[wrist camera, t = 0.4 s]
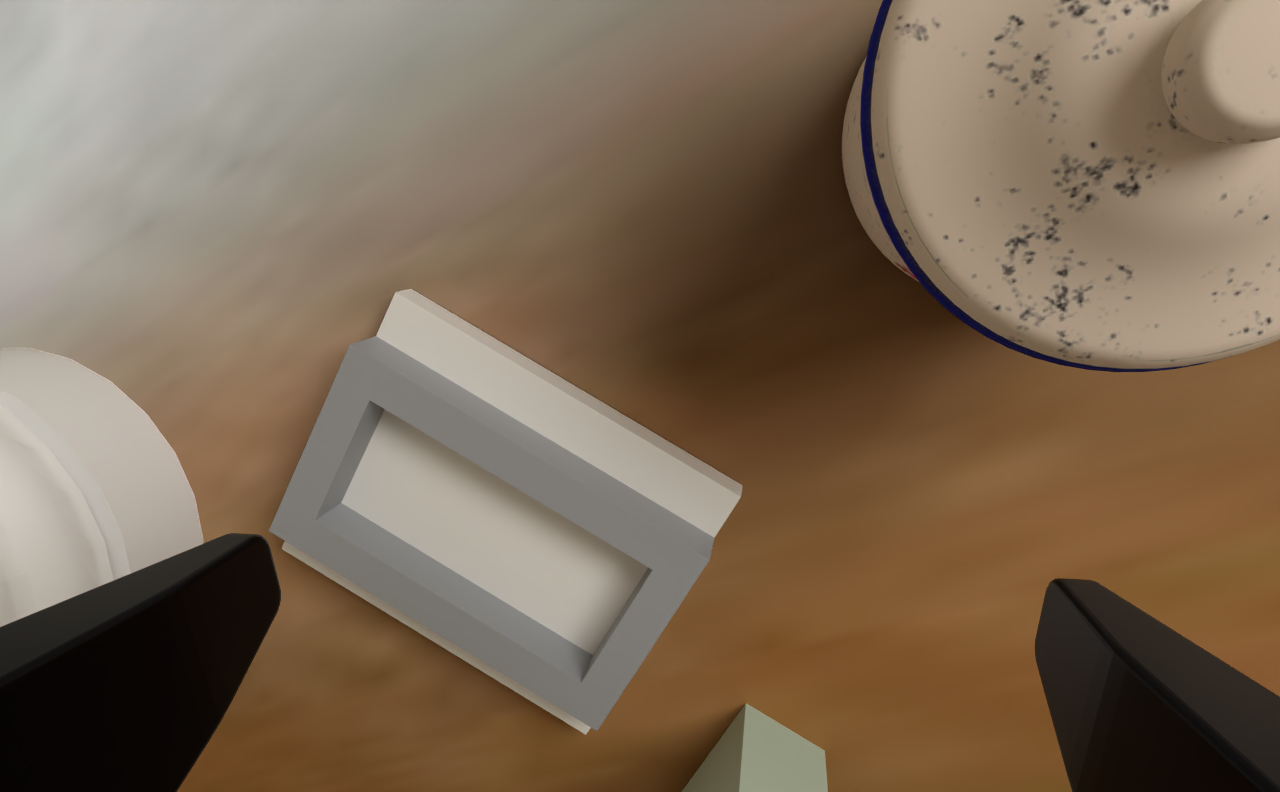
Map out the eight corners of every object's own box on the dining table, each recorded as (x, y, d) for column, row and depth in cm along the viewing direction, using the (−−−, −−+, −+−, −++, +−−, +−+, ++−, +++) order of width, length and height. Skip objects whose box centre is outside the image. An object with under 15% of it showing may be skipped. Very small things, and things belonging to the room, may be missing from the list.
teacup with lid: (854, 333, 22) (925, 461, 11) (809, -5, 20) (839, -258, 9) (1340, 257, 20) (2067, 325, 9) (1338, -137, 18) (2258, -707, 7)
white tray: (593, 715, 27) (574, 765, 24) (298, 536, 27) (252, 568, 25) (742, 485, 24) (738, 516, 21) (410, 288, 24) (370, 297, 22)
